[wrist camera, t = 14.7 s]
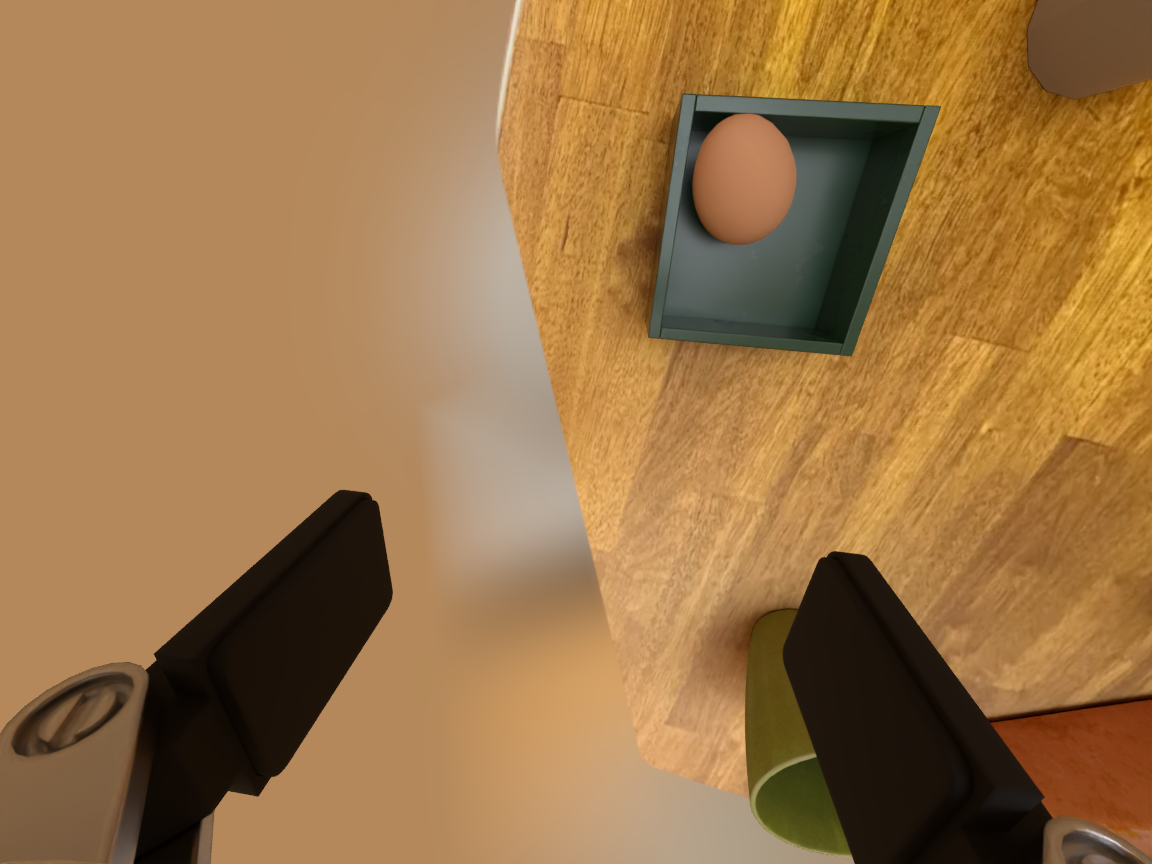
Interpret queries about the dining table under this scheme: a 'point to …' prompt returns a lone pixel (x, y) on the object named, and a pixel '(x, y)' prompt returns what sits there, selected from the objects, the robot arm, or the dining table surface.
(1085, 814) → the bread
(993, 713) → the dining table surface
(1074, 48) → the cup
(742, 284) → the dark green open crate
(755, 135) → the egg
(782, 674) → the flower pot
